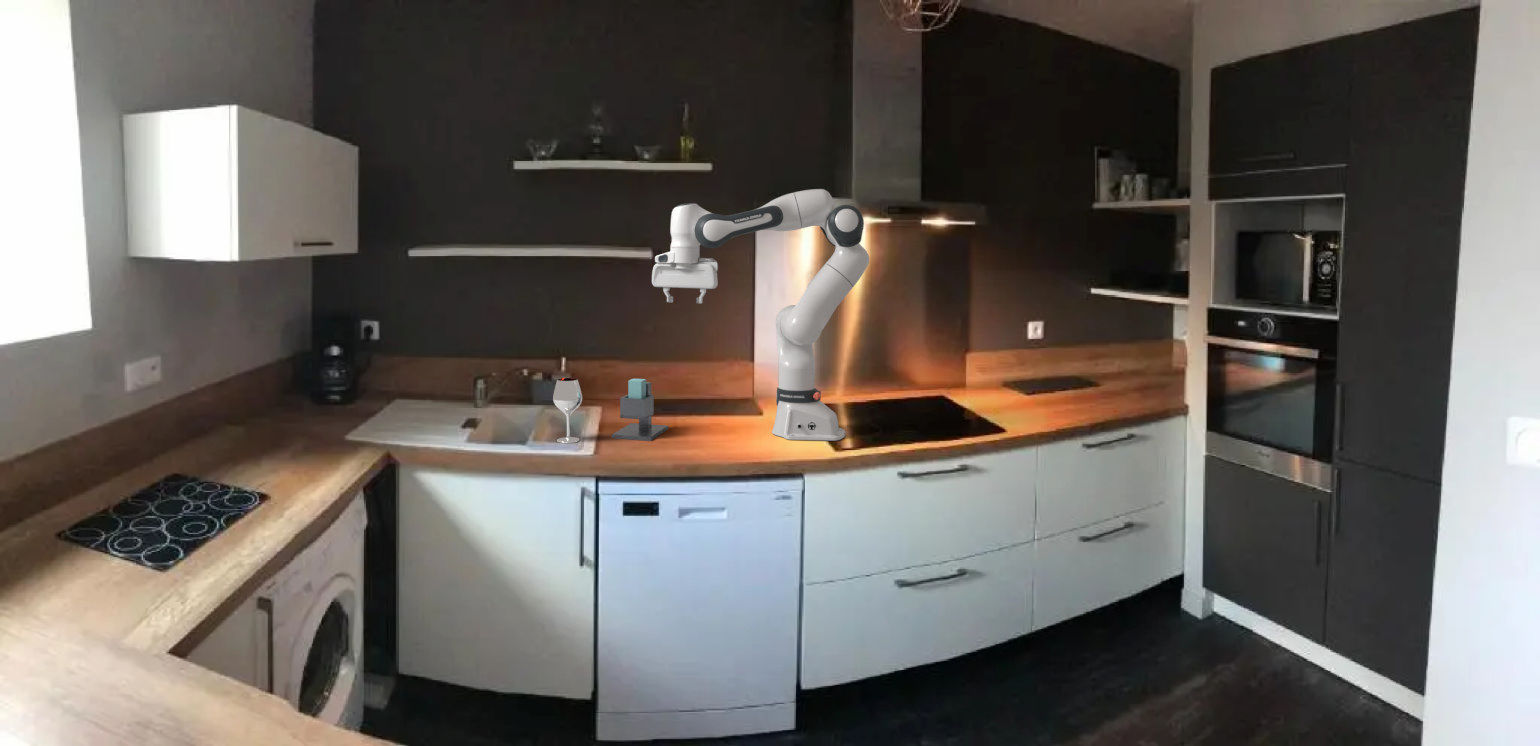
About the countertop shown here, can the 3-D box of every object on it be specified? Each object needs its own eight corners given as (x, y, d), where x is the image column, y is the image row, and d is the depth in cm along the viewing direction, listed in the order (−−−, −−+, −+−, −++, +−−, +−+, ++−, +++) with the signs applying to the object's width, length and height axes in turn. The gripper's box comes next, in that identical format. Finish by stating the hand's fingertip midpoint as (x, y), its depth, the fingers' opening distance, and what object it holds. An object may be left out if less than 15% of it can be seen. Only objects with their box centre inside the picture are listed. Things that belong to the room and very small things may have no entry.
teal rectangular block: (646, 412, 258) (645, 379, 256) (641, 414, 254) (641, 381, 253) (633, 411, 259) (633, 378, 257) (628, 413, 255) (628, 380, 253)
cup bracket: (668, 429, 267) (668, 381, 265) (650, 441, 252) (650, 390, 249) (631, 426, 269) (631, 379, 267) (611, 438, 254) (611, 388, 252)
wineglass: (577, 436, 256) (576, 376, 253) (586, 441, 249) (586, 380, 246) (550, 439, 252) (548, 378, 249) (559, 445, 245) (558, 382, 242)
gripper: (720, 258, 263) (720, 303, 265) (656, 256, 267) (656, 300, 269) (715, 258, 257) (714, 304, 259) (649, 256, 261) (650, 302, 263)
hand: (684, 302), depth 264 cm, fingers open, 8 cm apart
